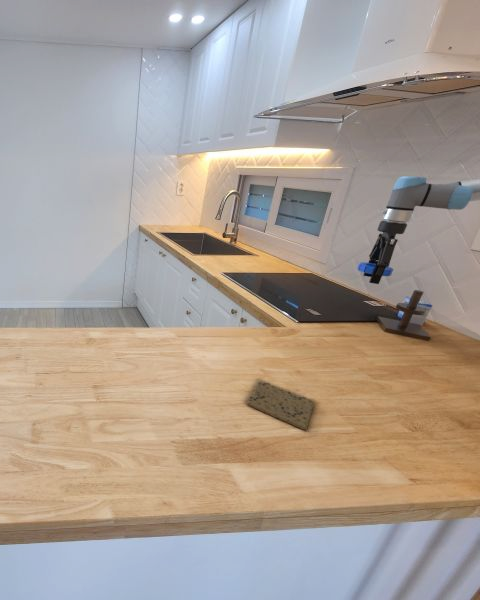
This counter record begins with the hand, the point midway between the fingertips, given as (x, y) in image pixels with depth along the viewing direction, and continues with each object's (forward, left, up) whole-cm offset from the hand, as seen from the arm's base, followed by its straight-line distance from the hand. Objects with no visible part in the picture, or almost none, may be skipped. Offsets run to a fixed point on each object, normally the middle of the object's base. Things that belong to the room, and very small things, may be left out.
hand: (370, 279), depth 130 cm
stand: (-11, +11, -14) cm, 21 cm away
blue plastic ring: (0, 0, +3) cm, 3 cm away
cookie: (+28, +85, -14) cm, 91 cm away
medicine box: (-17, -2, -14) cm, 22 cm away
